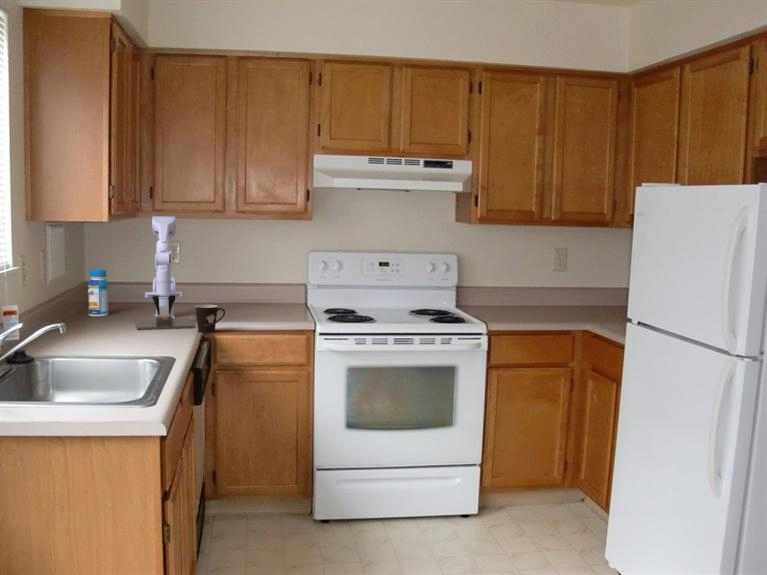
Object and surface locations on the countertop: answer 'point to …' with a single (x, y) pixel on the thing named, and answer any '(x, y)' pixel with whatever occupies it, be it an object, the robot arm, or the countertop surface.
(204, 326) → the coffee mug
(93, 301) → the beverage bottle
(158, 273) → the robot arm
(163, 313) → the silver metallic block
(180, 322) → the stand
